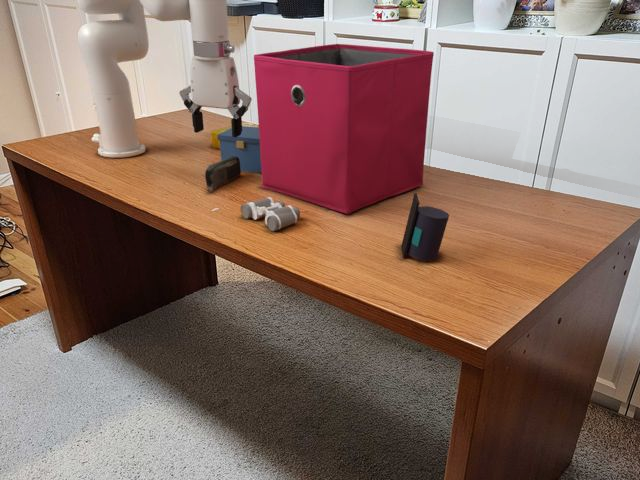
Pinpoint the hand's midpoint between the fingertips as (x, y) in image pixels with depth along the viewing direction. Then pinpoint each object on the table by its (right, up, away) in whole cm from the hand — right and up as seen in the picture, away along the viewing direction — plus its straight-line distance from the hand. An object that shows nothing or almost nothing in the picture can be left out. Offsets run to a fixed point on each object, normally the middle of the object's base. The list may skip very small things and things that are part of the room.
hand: (217, 133), depth 135 cm
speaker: (+42, -32, -28) cm, 60 cm away
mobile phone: (0, -10, +6) cm, 12 cm away
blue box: (+6, -2, +18) cm, 19 cm away
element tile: (+2, +9, +34) cm, 35 cm away
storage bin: (+28, -11, +4) cm, 31 cm away
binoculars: (+14, -23, -14) cm, 30 cm away
